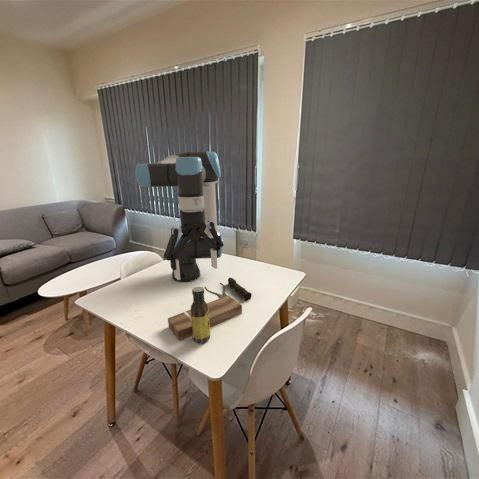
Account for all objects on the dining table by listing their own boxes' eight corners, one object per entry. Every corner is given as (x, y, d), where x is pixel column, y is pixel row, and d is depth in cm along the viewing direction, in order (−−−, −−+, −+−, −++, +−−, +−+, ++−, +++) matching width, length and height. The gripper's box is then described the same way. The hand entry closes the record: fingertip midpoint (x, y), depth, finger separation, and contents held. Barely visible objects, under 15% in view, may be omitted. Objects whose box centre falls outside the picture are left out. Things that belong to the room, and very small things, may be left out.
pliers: (218, 281, 137) (243, 295, 122) (218, 282, 137) (243, 297, 122) (202, 287, 131) (226, 303, 116) (202, 288, 131) (226, 305, 116)
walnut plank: (168, 327, 101) (167, 318, 100) (228, 303, 117) (228, 295, 116) (179, 341, 94) (178, 331, 92) (242, 313, 109) (241, 304, 108)
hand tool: (252, 299, 120) (252, 290, 118) (244, 302, 118) (244, 293, 117) (233, 283, 136) (233, 275, 134) (226, 285, 134) (226, 276, 133)
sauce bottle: (213, 340, 94) (210, 291, 87) (196, 346, 91) (192, 295, 85) (207, 330, 99) (204, 283, 93) (190, 335, 96) (186, 287, 90)
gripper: (156, 217, 70) (164, 288, 77) (232, 206, 84) (234, 266, 91) (147, 213, 76) (155, 279, 83) (220, 202, 90) (222, 260, 97)
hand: (196, 272), depth 87 cm, fingers open, 13 cm apart
